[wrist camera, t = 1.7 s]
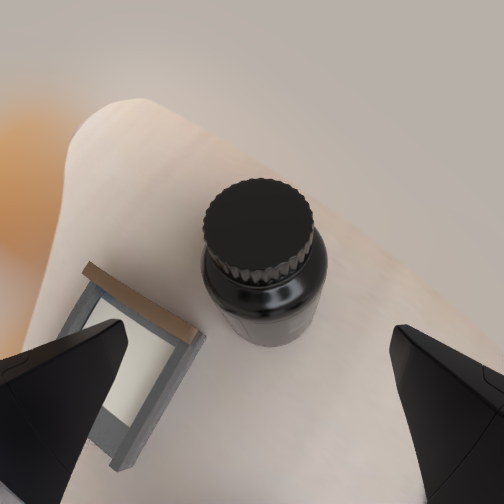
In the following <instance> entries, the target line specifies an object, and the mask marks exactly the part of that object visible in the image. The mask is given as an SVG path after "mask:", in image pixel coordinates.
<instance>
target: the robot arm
mask: <svg viewBox="0 0 504 504" xmlns="http://www.w3.org/2000/svg"><path fill="white" fill-rule="evenodd" d="M127 347H128V337H127V333H126V330H125V326H124V322H123V321H122V320H121V319H113V318H112V319H109V320H106V321H103V322H101V323H98V324H96V325H93V326H91V327H88V328H85V329H83V330H80V331H78V332H75V333H73V334H70V335H67V336H65V337H62V338H60V339H57V340H54V341H52V342H49V343H47V344H44V345H41V346H39V347H36V348H34V349H33V350H32V349H31V350H28V351H26V352H23V353H20V354H17V355H15V356H12V357H9V358H6V359H3V360H0V504H60V502H61V500H62V497H63V494H64V492H65V489H66V487H67V484H68V482H69V480H70V477H71V474H72V472H73V470H74V467H75V465H76V462H77V460H78V458H79V455H80V453H81V451H82V449H83V446H84V444H85V442H86V440H87V437H88V435H89V433H90V431H91V429H92V427H93V424H94V422H95V420H96V418H97V416H98V414H99V412H100V410H101V407H102V405H103V403H104V401H105V399H106V397H107V395H108V393H109V391H110V389H111V387H112V385H113V383H114V381H115V378H116V376H117V373H118V371H119V368H120V365H121V363H122V360H123V357H124V355H125V352H126V350H127ZM389 353H390V357H391V362H392V367H393V371H394V376H395V381H396V386H397V390H398V394H399V397H400V400H401V403H402V406H403V410H404V413H405V416H406V419H407V423H408V426H409V429H410V433H411V436H412V440H413V444H414V447H415V451H416V455H417V459H418V463H419V467H420V471H421V475H422V479H423V483H424V488H425V492H426V497H427V500H428V501H427V503H428V504H504V375H502V374H500V373H498V372H496V371H494V370H492V369H490V368H488V367H486V366H485V365H483V366H482V364H481V363H479V362H477V361H475V360H473V359H471V358H470V357H468V356H466V355H464V354H462V353H460V352H458V351H456V350H454V349H453V348H451V347H449V346H447V345H445V344H443V343H441V342H439V341H438V340H436V339H434V338H432V337H430V336H428V335H426V334H424V333H422V332H421V331H419V330H417V329H415V328H413V327H411V326H409V325H407V324H404V325H396V326H395V327H394V330H393V334H392V339H391V343H390V348H389Z"/></svg>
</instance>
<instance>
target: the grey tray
mask: <svg viewBox="0 0 504 504" xmlns="http://www.w3.org/2000/svg"><path fill="white" fill-rule="evenodd" d="M82 274H83V275H85V276H86V277H87V278H89V279H90V280H91V281H90V282H89V284H88V286H87V287H86V289H85V290H84V292H83V294H82V295H81V297H80V299H79V300H78V302H77V304H76V305H75V307H74V309H73V310H72V312H71V314H70V316H69V317H68V319H67V321H66V323H65V324H64V326H63V328H62V330H61V332H60V333H59V335H58V337H57V339H60V338H62V337H65V336H67V335H70V334H73V333H75V332H78V331H80V330H83V329H85V328H88V327H91V326H93V325H96V324H98V323H101V322H103V321H106V320H109V319H112V318H113V319H121V320H122V321H123V322H124V326H125V330H126V333H127V337H128V347H127V350H126V352H125V355H124V357H123V360H122V363H121V365H120V368H119V371H118V373H117V376H116V378H115V381H114V383H113V385H112V387H111V389H110V391H109V393H108V395H107V397H106V399H105V401H104V403H103V405H102V407H101V410H100V412H99V414H98V416H97V418H96V420H95V422H94V424H93V427H92V429H91V431H90V433H89V435H88V438H89V439H90V440H91V441H93V442H94V443H95V444H96V445H97V446H98V447H99V448H101V449H102V450H103V451H104V452H105V453H107V454H108V455H109V456H110V457H111V458H113V459H112V461H111V463H110V464H109V466H110V467H111V468H112V469H114V470H115V471H116V472H119V471H122V470H125V469H127V468H130V467H132V466H133V464H134V462H135V461H136V459H137V457H138V455H139V454H140V452H141V450H142V448H143V447H144V445H145V443H146V442H147V440H148V438H149V436H150V435H151V433H152V431H153V429H154V428H155V426H156V424H157V422H158V421H159V419H160V417H161V415H162V414H163V412H164V410H165V409H166V407H167V405H168V403H169V402H170V400H171V398H172V396H173V395H174V393H175V391H176V389H177V388H178V386H179V384H180V382H181V381H182V379H183V377H184V375H185V374H186V372H187V370H188V368H189V367H190V365H191V363H192V361H193V360H194V358H195V356H196V354H197V353H198V351H199V349H200V347H201V346H202V344H203V342H204V340H205V339H206V337H205V336H204V335H203V334H202V333H201V332H200V331H198V330H197V329H196V328H195V327H194V326H193V325H191V324H189V323H187V322H186V321H184V320H182V319H180V318H179V317H177V316H175V315H173V314H172V313H170V312H168V311H167V310H165V309H163V308H162V307H160V306H158V305H157V304H155V303H153V302H152V301H150V300H148V299H147V298H145V297H143V296H142V295H140V294H139V293H137V292H135V291H134V290H132V289H131V288H129V287H128V286H126V285H124V284H123V283H121V282H120V281H118V280H117V279H115V278H114V277H112V276H111V275H109V274H108V273H106V272H105V271H103V270H102V269H100V268H99V267H97V266H96V265H94V264H93V263H91V262H90V261H89V262H88V264H87V265H86V267H85V268H84V270H83V271H82ZM57 339H56V340H57Z"/></svg>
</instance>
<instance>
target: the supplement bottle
mask: <svg viewBox="0 0 504 504" xmlns="http://www.w3.org/2000/svg"><path fill="white" fill-rule="evenodd" d="M203 221H204V226H203V233H204V241H205V245H204V248H203V252H202V257H201V273H202V278H203V281H204V284H205V287H206V289H207V291H208V293H209V295H210V296H211V298H212V299H213V301H214V302H215V304H216V305H217V306H218V308H219V309H220V311H221V312H222V313H223V315H224V316H225V318H226V319H227V320H228V322H229V323H230V325H231V326H232V327H233V329H234V330H235V331H236V332H237V333H238V334H239V335H240V336H241V337H242V338H244V339H245V340H247V341H249V342H250V343H253V344H255V345H259V346H264V347H276V346H281V345H285V344H287V343H290V342H292V341H294V340H295V339H297V338H298V337H299V336H300V335H302V334H303V333H304V331H305V330H306V329H307V328H308V326H309V325H310V323H311V321H312V318H313V316H314V313H315V310H316V307H317V304H318V301H319V298H320V295H321V292H322V289H323V285H324V282H325V278H326V274H327V267H328V258H327V251H326V247H325V244H324V241H323V239H322V237H321V235H320V233H319V232H318V230H317V229H316V228H315V226H314V221H313V212H312V211H311V209H310V206H309V203H308V202H307V201H306V200H305V198H304V196H303V195H301V194H300V193H299V192H298V190H297V189H294V188H292V187H291V186H290V185H289V184H284V183H283V182H281V181H275V180H273V179H264V178H258V179H249V180H247V181H241V182H239V183H237V184H233V185H231V186H230V187H229V188H226V189H224V190H223V191H222V193H220V194H218V195H217V196H216V198H215V200H213V201H212V202H211V203H210V207H209V208H208V209H207V210H206V216H205V217H204V219H203Z"/></svg>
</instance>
